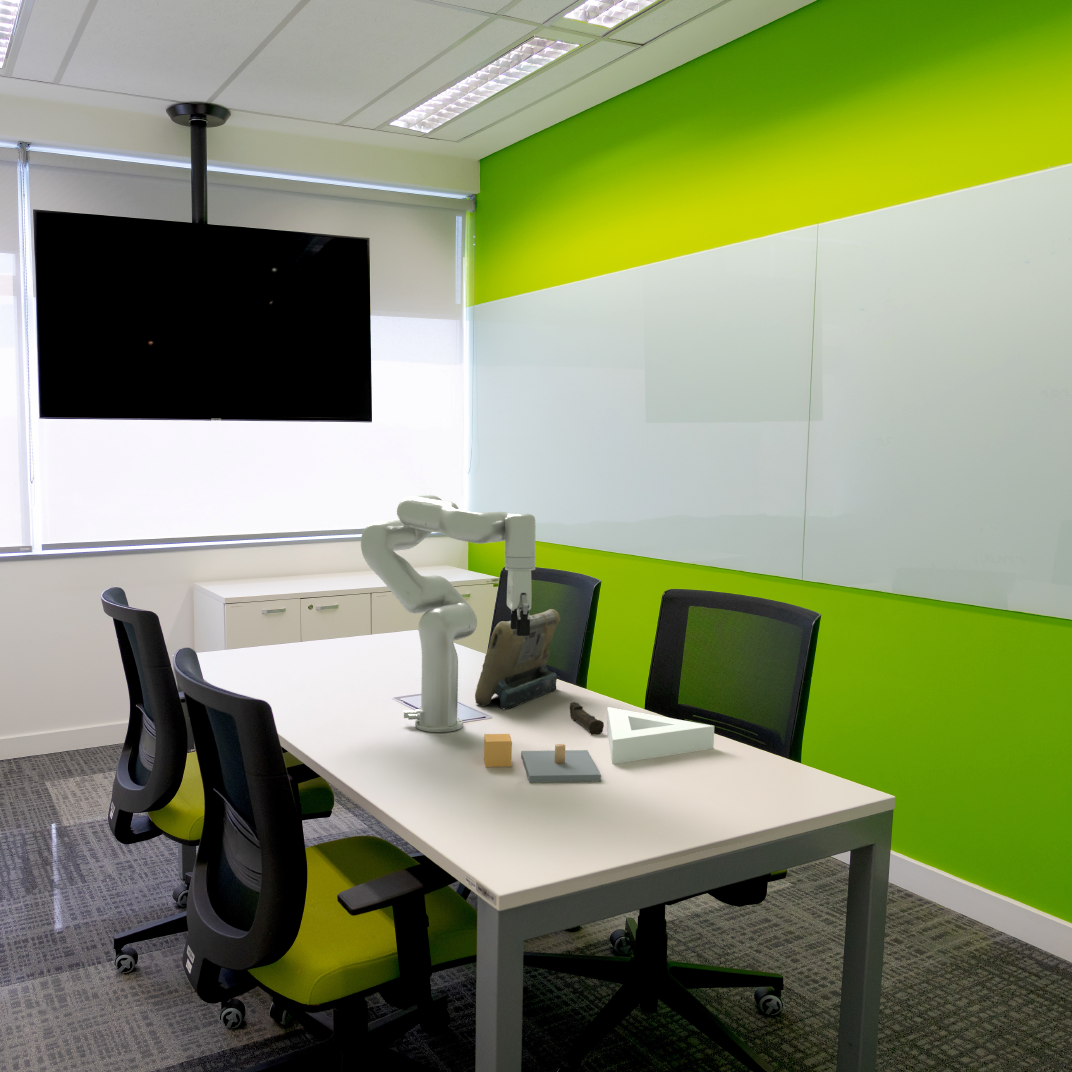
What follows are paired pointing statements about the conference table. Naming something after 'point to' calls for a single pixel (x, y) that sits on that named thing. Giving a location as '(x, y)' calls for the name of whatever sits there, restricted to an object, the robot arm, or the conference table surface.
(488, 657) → the tablet
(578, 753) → the peg board
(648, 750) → the triangle block
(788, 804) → the conference table surface
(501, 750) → the orange cube
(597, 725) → the brown piece
